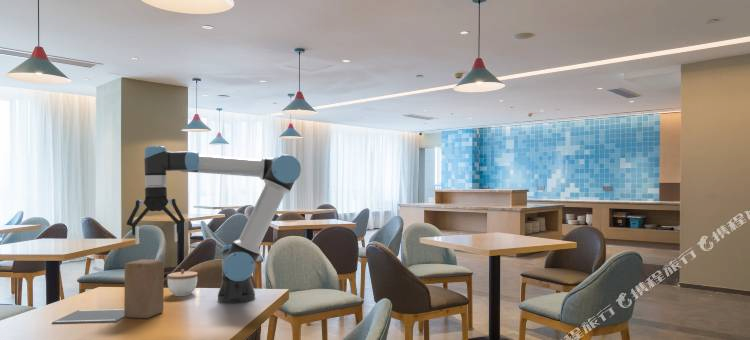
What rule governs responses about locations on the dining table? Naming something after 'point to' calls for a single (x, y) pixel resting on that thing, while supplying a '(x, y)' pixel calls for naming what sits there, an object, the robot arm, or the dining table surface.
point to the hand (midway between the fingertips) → (156, 242)
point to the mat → (92, 316)
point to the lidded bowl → (182, 282)
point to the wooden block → (144, 288)
